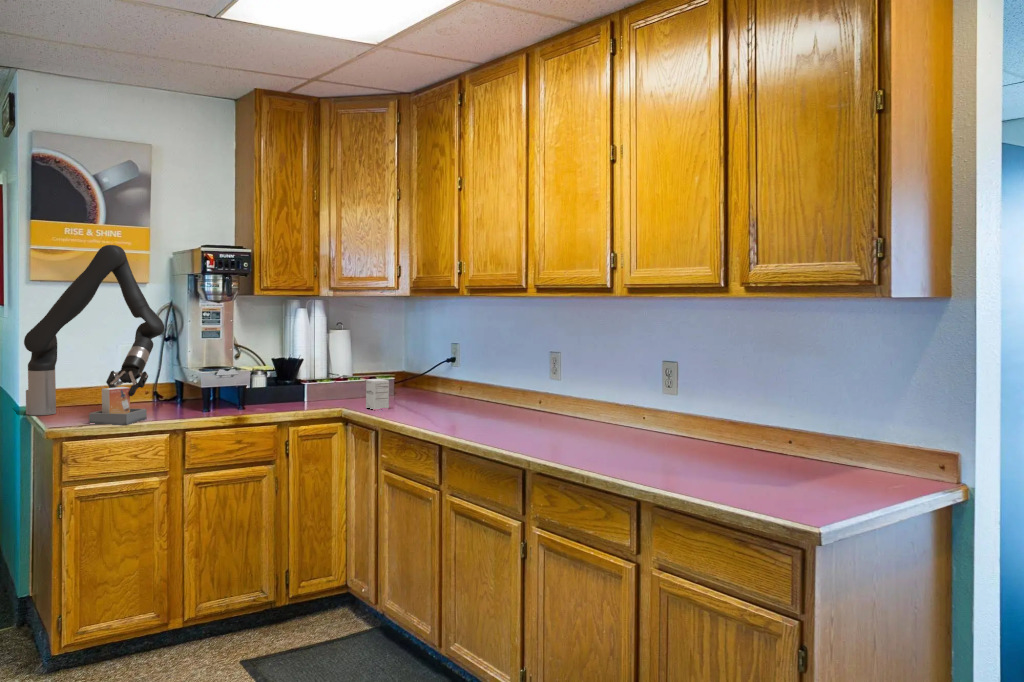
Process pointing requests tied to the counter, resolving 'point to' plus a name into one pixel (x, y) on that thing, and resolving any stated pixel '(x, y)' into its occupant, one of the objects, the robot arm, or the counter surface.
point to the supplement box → (377, 393)
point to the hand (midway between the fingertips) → (119, 394)
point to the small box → (115, 400)
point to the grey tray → (118, 417)
